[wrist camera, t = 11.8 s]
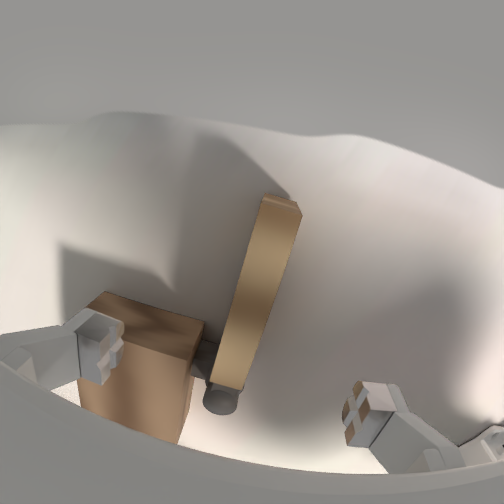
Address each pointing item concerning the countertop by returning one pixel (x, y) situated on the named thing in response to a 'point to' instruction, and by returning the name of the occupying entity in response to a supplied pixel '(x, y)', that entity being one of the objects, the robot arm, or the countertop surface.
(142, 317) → the stool seat
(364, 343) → the countertop surface
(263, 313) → the stool leg
